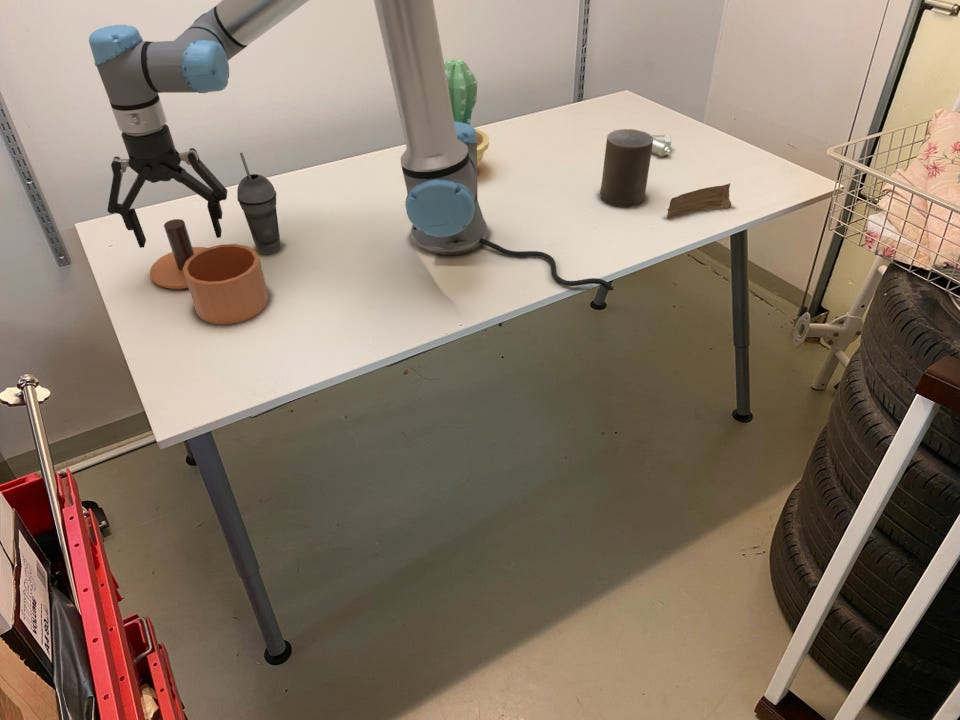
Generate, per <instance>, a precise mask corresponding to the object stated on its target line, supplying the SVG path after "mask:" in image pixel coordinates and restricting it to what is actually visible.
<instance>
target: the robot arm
mask: <svg viewBox="0 0 960 720" xmlns="http://www.w3.org/2000/svg"><path fill="white" fill-rule="evenodd" d="M309 1H310V0H221V1H220V2H218V3H217V4H216V5H215V6H213V7H212V8H210V9H209V10H208V11H206V12H204V13H203V14H201V15H200V16H198V18H196V19H195V20H194V21H193V23H192V24H191V25H189V27H187V29H185V30H184V31H183V32H182V33H181V34H180V35H179V36H178V37H176V38H175V39H174V40H165V41H149V40H144V39H143V37H142V36H141V34H140V31H139V30H138V28H137V27H135V26H133V25H127V24H113V25H107V26H103V27H100V28H97V29H95V30H94V31H92V32H91V33H90V35H89V37H88V43H89V47H90V50H91V54H92V57H93V60H94V66H95V67H96V69H97V71H98V73H99V76H100V79H101V82H102V84H103V87H104V90H105V92H106V95H107V98H108V101H109V104H110V109H111V110H112V113H113V116H114V118H115V121H116V124H117V127H118V129H119V130H120V132H121V138H122V141H123V144H124V146H125V149H126V152H127V155H128V158H121V157H119V156H117V155H115V156H114V157H113V159H112V162H111V164H110V166H111V171H112V176H113V177H112V181H111V186H110V192H109V198H108V204H107V213H109V214H111V215H113V214H118V215H120V216H121V218H122V220H123V223H124V225H125V228H126V230H127V231H133V234H134V237H135V240H136V241H137V244H138V247H139V248H140V249H143V248H145V245H146V242H147V239H146V235H145V233H144V231H143V230H144V229H143V228H142V225H141V222H140V220H139V217H138V214H137V212H136V209H135V208H132V206H133V203H134V202H135V200H136V198H137V196H138V195H139V193H140V191H141V189H142V188H143V186H144V185H145V183H146V182H150V183H151V184H152V183H153V184H155V183H158V182H171V180H172V179H173V180H175V181H176V182H177V183H180V184H182V185H184V186H185V187H187V188H188V189H190V190H191V191H192V192H194V193H195V194H197V195H198V196H200V198H203V199H204V200H205V201H207V205H206V207H207V210H208V214H209V217H210V220H211V224H212V227H213V231H214V234H215V237H216V239H219V238H220V239H221V238H222V233H223V231H222V227H221V223H220V220H222V219H223V209H222V206H221V201H226V200H227V198H228V189H227V188H226V187H225V186H224V185H223V184H222V183H221V182H220V180H219V179H218V178H217V177H216V175H214V174H213V172H212V171H211V170H210V168H208V167H207V165H205V163H204V162H203V161H202V160H201V159H200V156H199V154H198V151H197V150H196V149H195V148H194V147H190V148H189V149H188V151H183V152H179V151H178V150H177V148H176V145H175V143H174V140H173V137H172V134H171V130H170V127H169V125H168V124H167V120H168V119H167V117H166V113H165V111H164V107H163V105H162V102H161V98H160V95H159V94H163V93H167V94H168V93H169V94H170V93H171V94H173V93H174V94H175V93H177V94H178V93H180V94H181V93H191V94H192V93H197V94H208V93H214V92H221V91H223V90H226V88H227V87H228V84H229V78H230V65H229V61H230V60H231V59H232V58H234V57H235V56H236V55H238V54H239V53H240V52H242V51H244V49H246V48H247V47H248V46H249V45H250V44H252V43H253V42H255V41H256V40H258V39H259V38H260V37H261V36H263V35H264V34H266V33H267V32H268V31H269V30H271V29H272V28H274V27H275V26H276V25H278V24H279V23H281V22H282V21H283V20H284V19H286V18H287V17H288V16H290V15H292V14H293V13H294V12H295V11H296V10H299V9H300V8H301V7H302V6H304V5H306V4H307V3H308V2H309ZM373 3H374V7H375V13H376V16H377V21H378V26H379V29H380V30H379V31H380V35H381V40H382V44H383V48H384V53H385V57H386V60H387V66H388V71H389V75H390V79H391V83H392V88H393V92H394V98H395V101H396V102H395V103H396V106H397V107H396V108H397V111H398V115H399V120H400V126H401V128H402V134H403V138H404V143H405V147H406V149H405V150H404V152H403V153H402V155H401V156H400V166H401V170H402V176H403V179H404V183H405V189H406V194H407V195H406V198H405V204H404V206H405V212H406V215H407V218H408V220H409V222H410V223H411V224H412V225H411V240H412V242H413V243H414V245H415V246H416V247H417V248H419V249H420V250H422V251H424V252H427V253H429V254H433V255H437V256H438V255H440V256H457V255H462V254H463V255H464V254H466V253H470V252H472V251H474V250H476V249H478V248H480V247H481V246H482V245H485V246H486V247H489V248H491V249H494V250H495V251H497V252H499V253H500V254H503V255H507V256H509V257H539V258H542V259H545V260H547V261H548V262H549V264H550V265H549V266H550V273H551V276H552V278H553V280H554V281H556V283H557V284H559V285H562V286H566V287H578V286H584V285H591V284H597V285H600V286H603V287H604V288H605V289H606V290H608V291H614V287H613V286H612V285H611V284H610V282H608V281H606V280H604V279H601V278H597V277H594V278H593V277H592V278H584V279H577V280H567V279H563V278H561V277H560V276H559V275H558V272H557V265H556V261H555V259H554V257H552V256H551V255H550V254H548V253H546V252H542V251H538V250H525V251H524V250H523V251H519V250H518V251H517V250H510V249H507V248H505V247H502V246H501V245H499V244H497V243H495V242H492V241H490V240H487V237H488V227H487V222H486V220H485V219H484V216H483V212H482V209H481V205H480V204H479V201H478V200H479V199H478V166H477V143H478V140H477V134H476V130H475V129H476V128H475V127H474V126H472V125H471V124H470V125H468V124H465V123H461V122H454V118H453V112H452V106H451V100H450V95H449V89H448V83H447V77H446V72H445V66H444V64H445V61H444V56H443V49H442V44H441V38H440V32H439V27H438V20H437V15H436V14H437V13H436V9H435V3H434V0H373ZM474 128H475V129H474ZM181 162H185V163H186V165H188V166H191V168H192V169H193V170H194V171H195V173H196V174H197V175H198V176H199V177H200V178H201V179H202V180H203V182H204V183H203V182H202V181H200V180H199V179H197V178H196V177H194V176H193V175H192V174H190V172H188V171H187V170H186V169H185V168H184V167H183V166H181ZM128 168H130V169H131V170H133V171H134V172H135V173H136V174H137V176H136V178H135V180H134V181H133V183H132V185H131V187H130V189H129V191H128V192H127V194H126V196H125V197H124V200H123V202H122V203H119V197H120V191H121V186H122V181H123V176H124V173H126V172H127V169H128Z"/></svg>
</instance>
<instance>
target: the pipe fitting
mask: <svg viewBox="0 0 960 720" xmlns="http://www.w3.org/2000/svg"><path fill="white" fill-rule="evenodd" d="M650 135H651V136H652V137H653V145H652V152H651V154H654V155H657V156H659V157H661V158H664V157H665V156H667V155H669V154H670V153H671V147H672V146H671V145H672V136H671V134H657V135H656V134H654V135H653V134H650Z"/></svg>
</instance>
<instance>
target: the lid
mask: <svg viewBox="0 0 960 720" xmlns="http://www.w3.org/2000/svg"><path fill="white" fill-rule="evenodd" d="M163 227H164V231H165V234H166V236H167V240H168V242H169V246H170V249H171V252H168V253H167V254H164V255H163V256H160V257H159V258H158V259H157V260H156V261H154V262H153V264H152V265H151V267H150V269H149V276H150V279H151V281H152V282H153V283H155V285H157V286H160V287H162V288H167V289H175V290H176V289H180V290H181V289H189V288H188V285H187V282H186V279H185V276H184V273H183V267H184V264H185V262H186V261H187V260H188V259H189V258H190V257H191V256H193V255H194V254H195V253H197V252H199V251H202V250H204V249H206V248H207V247H204V246H193V245H192V241H191V239H190V235H189V233H188V229H187V226H186V222H185V221H184V219H180V218H175V219H171V220H167V221H166V222H165V223H163Z"/></svg>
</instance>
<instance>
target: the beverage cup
mask: <svg viewBox="0 0 960 720" xmlns="http://www.w3.org/2000/svg"><path fill="white" fill-rule="evenodd" d="M243 153H244V152H240V153H239V156H240V158H241V162H242V164H243V167H244V170H245V174H246V176H245V177H243V178H242V179H241V180H240V181H239V183H238V185H237V190H236V192H237V197H236V199H237V202H238V203H239V206H240V208H241V210H242V211H243V215H244V216H245V220H246V222H247V226H248V229H249V231H250V234H251V237H252V240H253V243H254V245H255V247H256V250H257V253H259V254H262V255H272V254H275V253H277V252H278V251H280V249H281V239H280V230H279V229H280V228H279V221H278V212H277V191H276V190H275V187H274V185H273V183H272V182H271V181H270V180H269V179H268V178H267V177H265V176H264V175H261V174H258V173H257V174H256V173H252V174H251V173H250V171H249V170H250V169H249V167H248V165H247V162H246V159H245V155H244V154H243Z"/></svg>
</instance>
